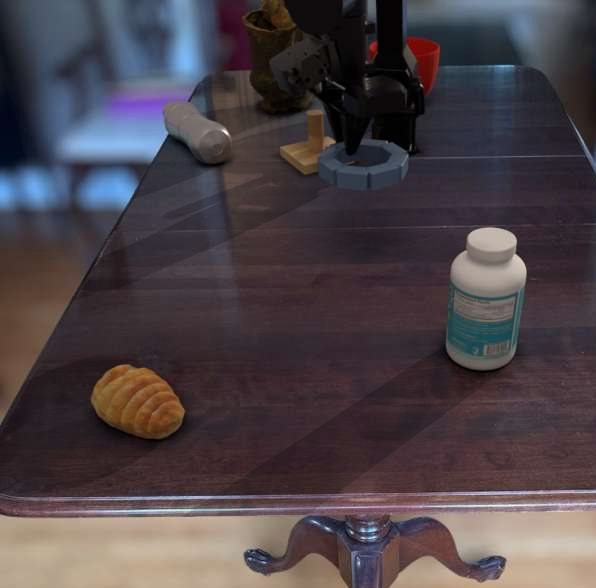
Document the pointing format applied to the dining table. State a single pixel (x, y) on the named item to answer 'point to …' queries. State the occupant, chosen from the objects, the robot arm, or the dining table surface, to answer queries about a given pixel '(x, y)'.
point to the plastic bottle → (197, 132)
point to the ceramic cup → (420, 59)
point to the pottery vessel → (272, 52)
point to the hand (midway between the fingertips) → (346, 151)
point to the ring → (363, 177)
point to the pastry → (137, 402)
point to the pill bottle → (485, 300)
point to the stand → (308, 145)
